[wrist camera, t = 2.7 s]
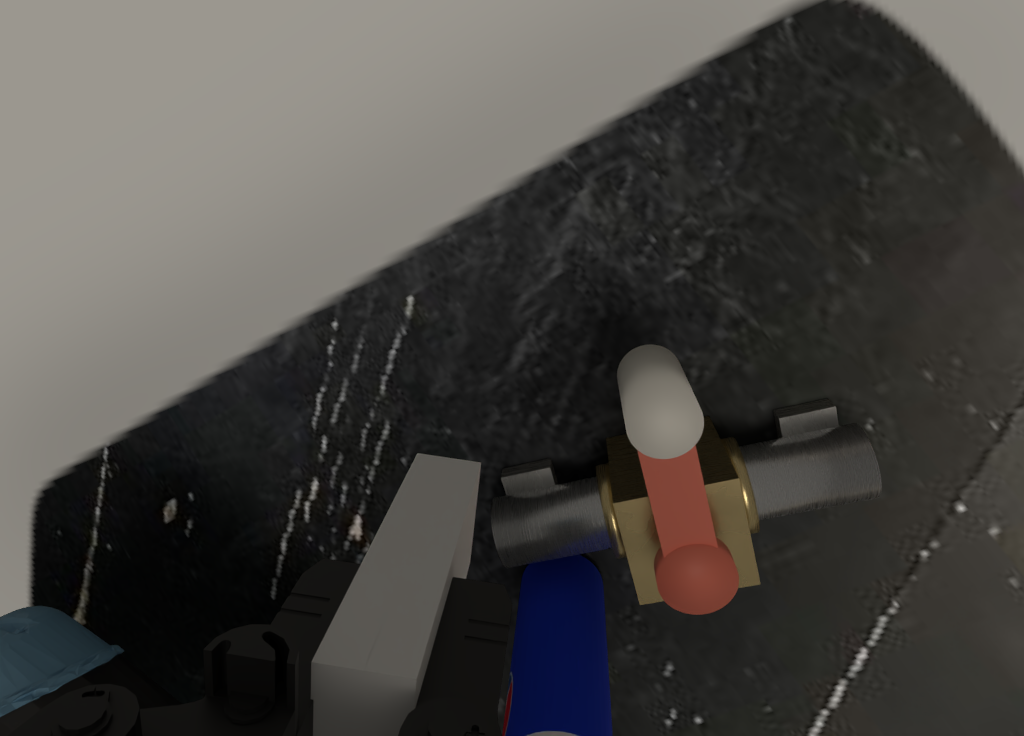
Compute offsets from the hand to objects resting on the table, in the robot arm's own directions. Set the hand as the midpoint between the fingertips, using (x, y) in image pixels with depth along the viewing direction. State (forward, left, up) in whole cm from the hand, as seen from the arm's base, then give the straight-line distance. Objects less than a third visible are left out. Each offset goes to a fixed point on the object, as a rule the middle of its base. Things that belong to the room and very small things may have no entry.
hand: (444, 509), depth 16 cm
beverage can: (-2, -19, -23) cm, 30 cm away
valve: (+6, -13, -23) cm, 27 cm away
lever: (+6, -8, -14) cm, 17 cm away
